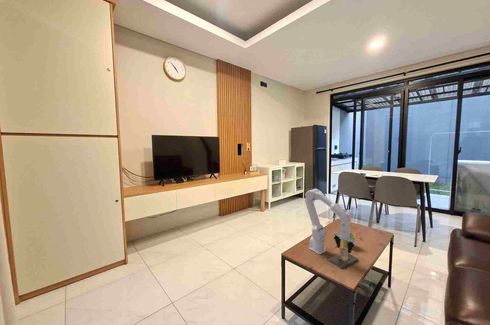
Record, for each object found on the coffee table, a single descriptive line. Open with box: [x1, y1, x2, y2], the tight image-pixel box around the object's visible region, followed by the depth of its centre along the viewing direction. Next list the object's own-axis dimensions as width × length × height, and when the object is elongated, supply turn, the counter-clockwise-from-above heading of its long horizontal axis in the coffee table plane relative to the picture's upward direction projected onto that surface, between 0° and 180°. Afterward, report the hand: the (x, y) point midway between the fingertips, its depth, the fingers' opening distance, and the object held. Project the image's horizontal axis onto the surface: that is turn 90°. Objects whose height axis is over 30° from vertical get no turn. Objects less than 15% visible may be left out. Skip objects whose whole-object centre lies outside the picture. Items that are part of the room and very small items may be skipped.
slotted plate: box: [328, 253, 359, 270], centre depth 134 cm, size 10×17×2 cm, turn 121°
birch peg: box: [338, 246, 349, 262], centre depth 134 cm, size 4×4×8 cm
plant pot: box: [342, 232, 356, 249], centre depth 153 cm, size 9×9×9 cm
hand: (343, 250), depth 134 cm, fingers open, 7 cm apart
